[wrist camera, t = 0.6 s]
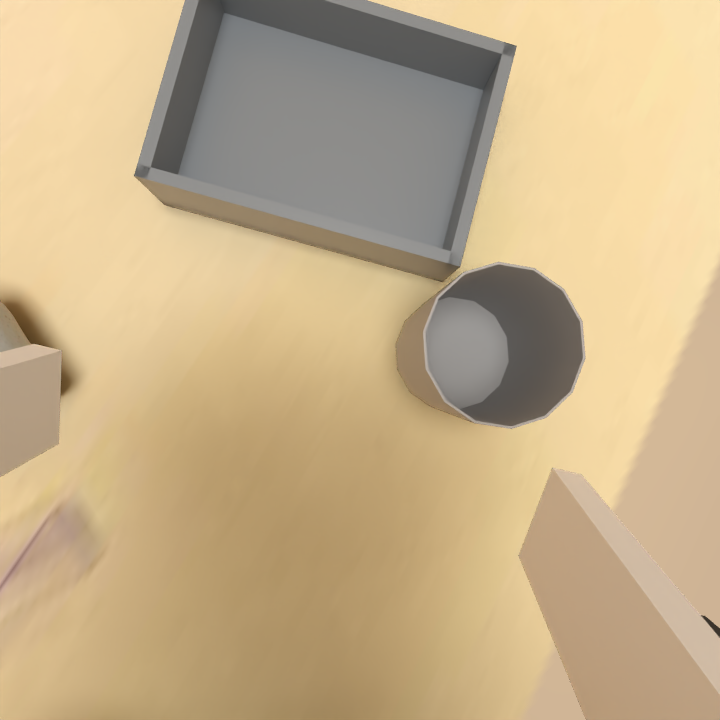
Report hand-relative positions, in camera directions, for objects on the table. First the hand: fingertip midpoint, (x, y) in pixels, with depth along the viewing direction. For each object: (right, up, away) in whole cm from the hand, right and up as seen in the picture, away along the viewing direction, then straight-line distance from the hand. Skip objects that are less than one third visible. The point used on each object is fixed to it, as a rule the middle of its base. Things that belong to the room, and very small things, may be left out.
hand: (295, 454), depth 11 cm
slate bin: (0, +18, +20) cm, 27 cm away
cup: (+9, +3, +20) cm, 22 cm away
